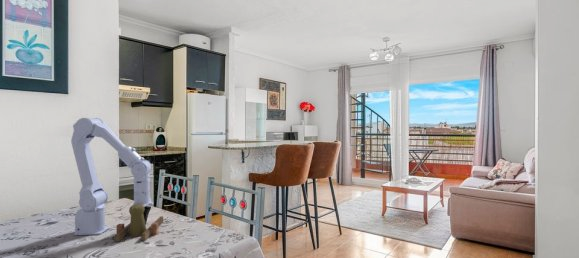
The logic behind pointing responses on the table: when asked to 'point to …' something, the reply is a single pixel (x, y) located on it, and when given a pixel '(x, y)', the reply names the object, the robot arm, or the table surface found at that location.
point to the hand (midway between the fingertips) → (142, 226)
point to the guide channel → (150, 231)
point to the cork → (137, 220)
